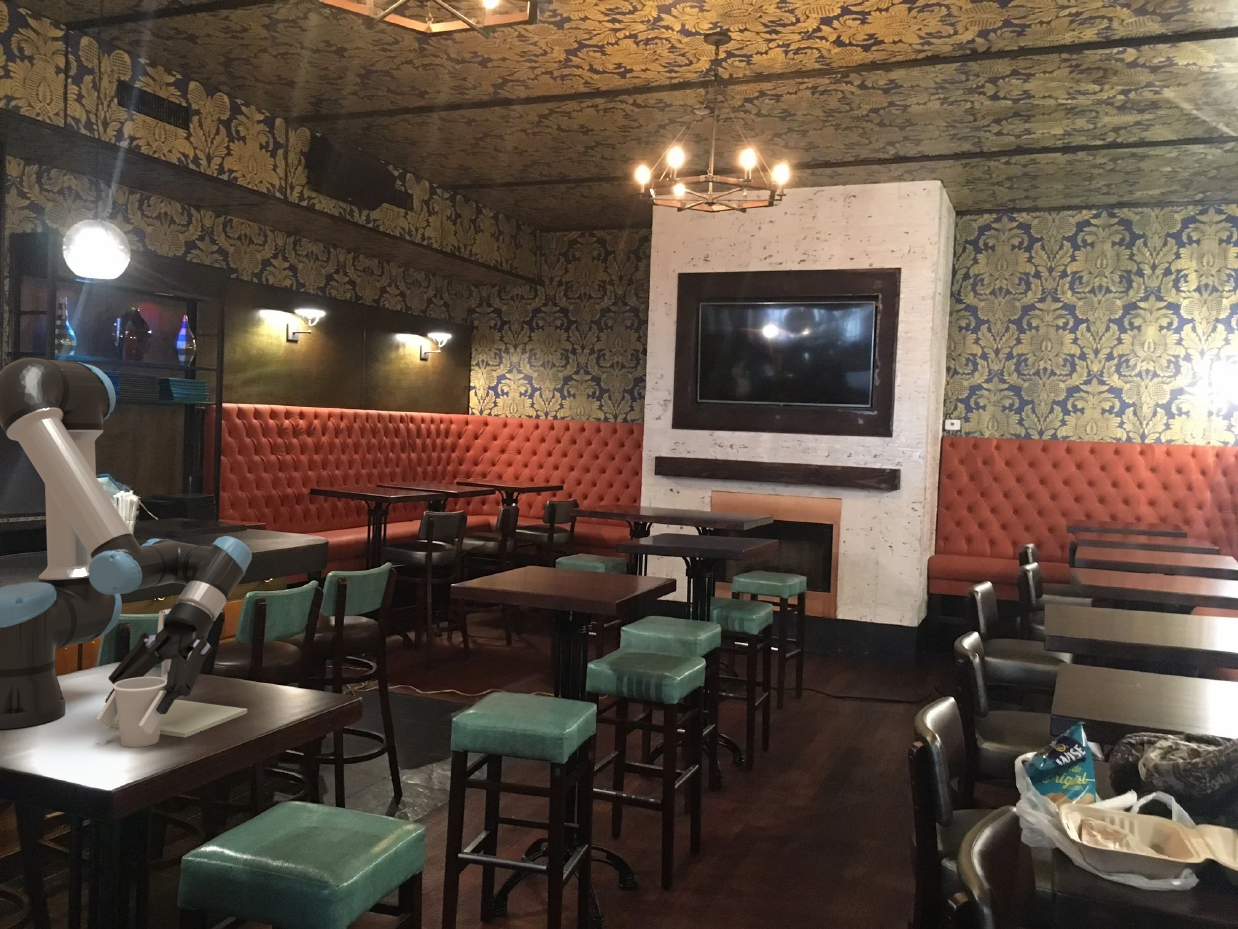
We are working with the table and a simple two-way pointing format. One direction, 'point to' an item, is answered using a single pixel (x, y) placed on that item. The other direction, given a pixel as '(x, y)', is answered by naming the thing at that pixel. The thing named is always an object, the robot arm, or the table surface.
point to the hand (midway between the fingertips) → (123, 726)
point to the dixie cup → (137, 709)
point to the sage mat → (193, 717)
